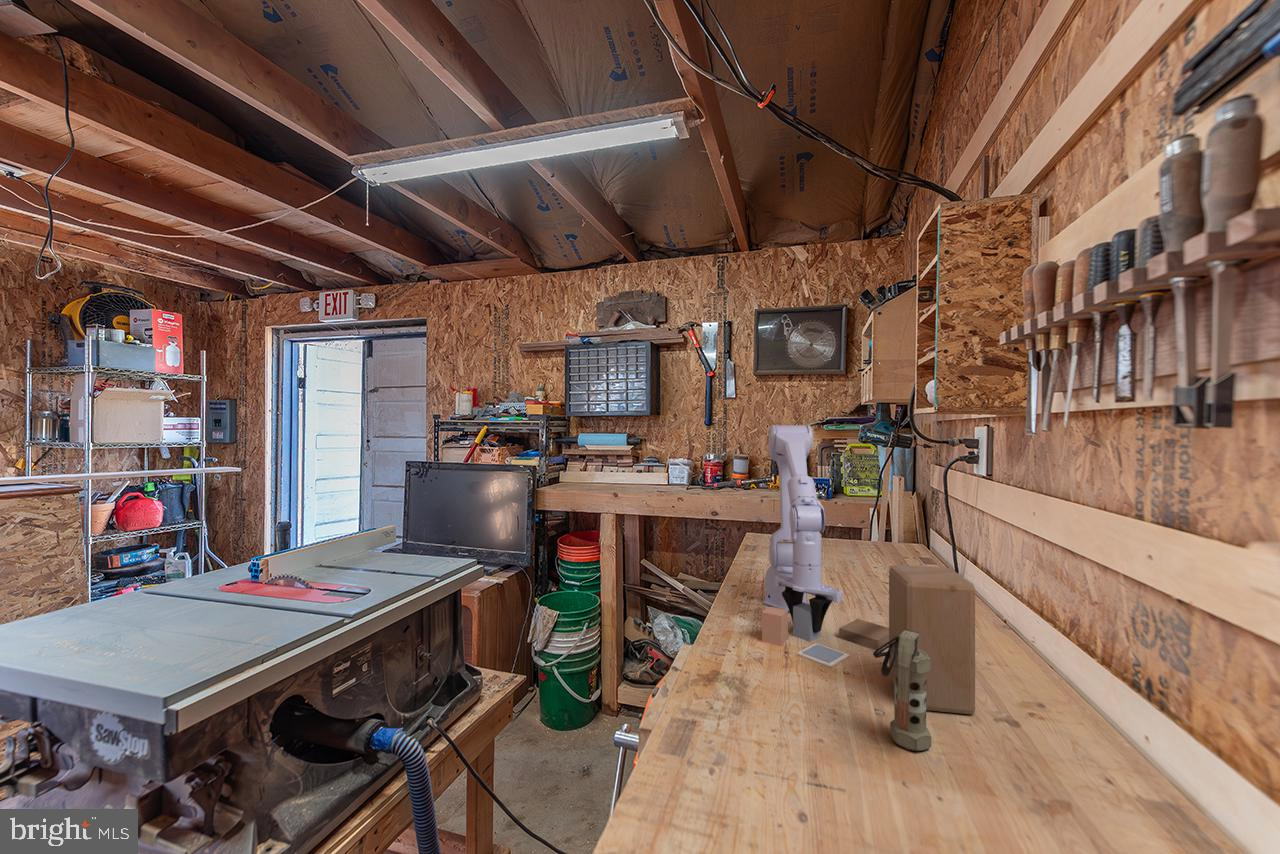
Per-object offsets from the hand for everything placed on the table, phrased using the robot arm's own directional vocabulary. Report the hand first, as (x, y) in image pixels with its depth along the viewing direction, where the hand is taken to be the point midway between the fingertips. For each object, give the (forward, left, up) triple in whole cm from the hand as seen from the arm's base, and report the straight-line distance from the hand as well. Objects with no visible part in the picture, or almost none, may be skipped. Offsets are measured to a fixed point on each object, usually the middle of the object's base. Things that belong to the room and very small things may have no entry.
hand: (806, 628), depth 106 cm
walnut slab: (+9, +8, -2) cm, 12 cm away
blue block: (0, 0, -2) cm, 2 cm away
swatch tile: (+7, -6, -2) cm, 9 cm away
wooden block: (+26, -7, -2) cm, 27 cm away
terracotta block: (-3, -7, -2) cm, 8 cm away
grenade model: (+28, -23, -2) cm, 36 cm away
